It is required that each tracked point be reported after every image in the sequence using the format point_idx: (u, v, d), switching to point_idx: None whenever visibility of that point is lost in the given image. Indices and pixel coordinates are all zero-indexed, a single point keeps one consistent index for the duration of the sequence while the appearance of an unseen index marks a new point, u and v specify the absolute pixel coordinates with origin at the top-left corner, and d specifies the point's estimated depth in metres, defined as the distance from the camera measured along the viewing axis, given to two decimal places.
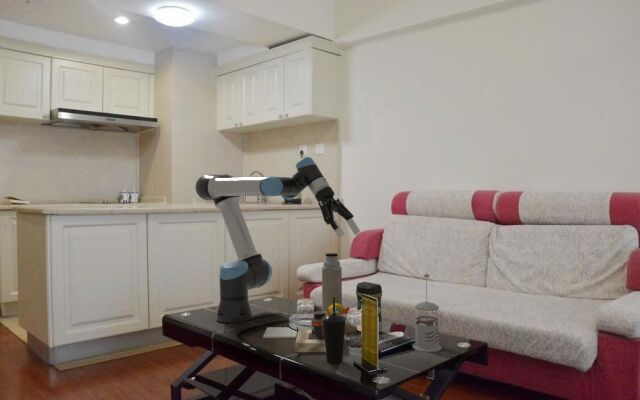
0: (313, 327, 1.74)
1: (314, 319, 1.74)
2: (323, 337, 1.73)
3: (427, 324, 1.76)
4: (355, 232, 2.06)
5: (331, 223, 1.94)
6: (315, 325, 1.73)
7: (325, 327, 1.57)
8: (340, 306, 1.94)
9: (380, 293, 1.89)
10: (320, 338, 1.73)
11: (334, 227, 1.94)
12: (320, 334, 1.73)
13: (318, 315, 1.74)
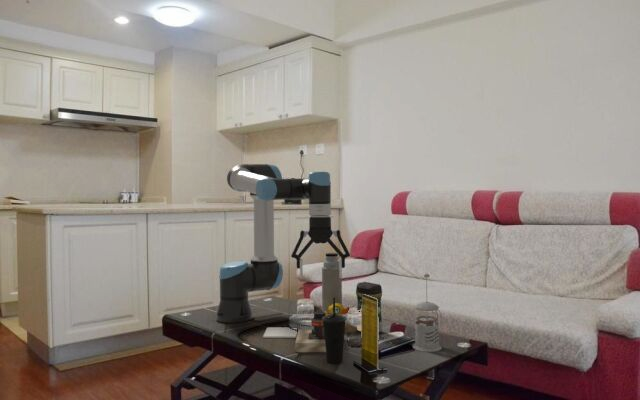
0: (313, 327, 1.74)
1: (314, 319, 1.74)
2: (323, 337, 1.73)
3: (427, 324, 1.76)
4: (339, 275, 1.77)
5: None
6: (315, 325, 1.73)
7: (325, 327, 1.57)
8: (340, 306, 1.94)
9: (380, 293, 1.88)
10: (320, 338, 1.73)
11: None
12: (320, 334, 1.73)
13: (318, 315, 1.74)
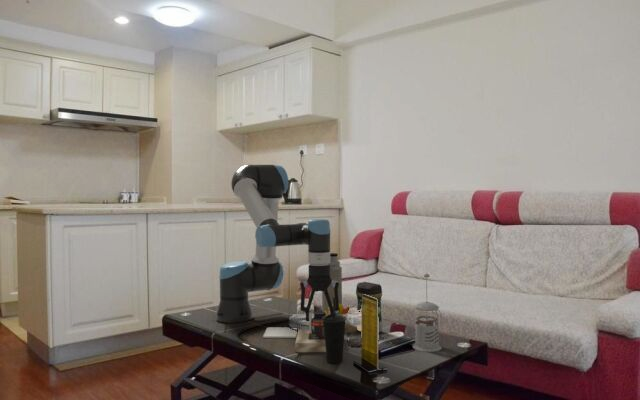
0: (313, 327, 1.74)
1: (314, 319, 1.74)
2: (323, 337, 1.73)
3: (427, 324, 1.76)
4: None
5: None
6: (315, 325, 1.73)
7: (325, 327, 1.57)
8: (340, 306, 1.94)
9: (380, 293, 1.88)
10: (320, 338, 1.73)
11: None
12: (320, 334, 1.73)
13: (318, 315, 1.74)
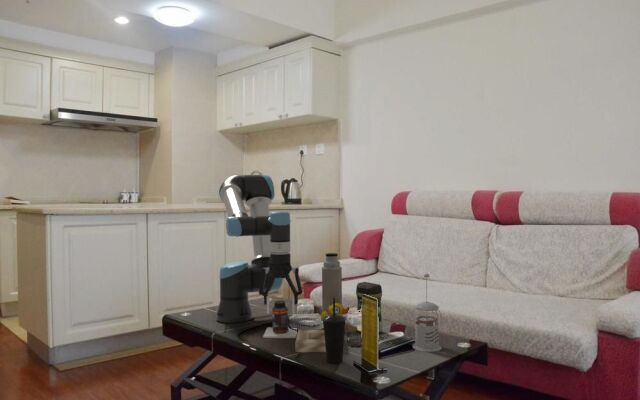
0: (273, 315, 1.88)
1: (274, 308, 1.89)
2: (282, 324, 1.88)
3: (427, 324, 1.76)
4: None
5: (264, 297, 1.90)
6: (275, 314, 1.88)
7: (325, 327, 1.57)
8: (340, 306, 1.94)
9: (380, 293, 1.88)
10: (280, 325, 1.87)
11: (264, 302, 1.90)
12: (280, 322, 1.87)
13: (278, 304, 1.88)
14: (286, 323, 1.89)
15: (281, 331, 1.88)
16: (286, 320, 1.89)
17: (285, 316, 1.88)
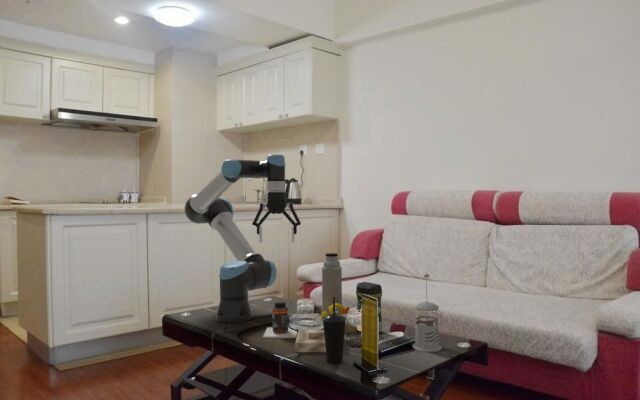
0: (273, 315, 1.88)
1: (274, 308, 1.89)
2: (282, 324, 1.88)
3: (427, 324, 1.76)
4: None
5: (257, 228, 2.14)
6: (275, 314, 1.88)
7: (325, 327, 1.57)
8: (340, 306, 1.94)
9: (380, 293, 1.89)
10: (280, 325, 1.87)
11: (257, 232, 2.14)
12: (280, 322, 1.87)
13: (278, 304, 1.88)
14: (286, 323, 1.89)
15: (281, 331, 1.88)
16: (286, 320, 1.89)
17: (285, 316, 1.88)
